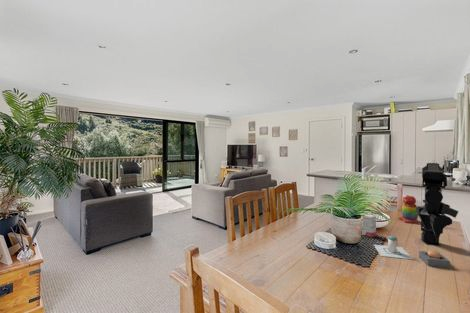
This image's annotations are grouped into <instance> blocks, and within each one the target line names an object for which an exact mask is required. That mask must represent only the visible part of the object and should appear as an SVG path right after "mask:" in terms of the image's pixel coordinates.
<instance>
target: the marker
mask: <svg viewBox="0 0 470 313" xmlns="http://www.w3.org/2000/svg"><path fill="white" fill-rule="evenodd" d="M387 246H388V251H389V252H392V253H396V252H397V247H398V238H397V237H396V236H393V235H389V236H388V239H387Z"/></svg>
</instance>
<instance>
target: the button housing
mask: <svg viewBox="0 0 470 313" xmlns="http://www.w3.org/2000/svg"><path fill="white" fill-rule="evenodd" d="M418 258H419V259H420V260H421V261H422V262H423V263H424V264H426V265H427V266H428V267H429V266H430V267H436V268H437V267H438V268H446V269H447V268H448V269H450V268H451V267H450V266H451V261H450V259H448V258H447V257H446V256H444V255H443V254H441V253H440V259H438V258H430V257H429V256H428V255H427V251H423V250H418Z"/></svg>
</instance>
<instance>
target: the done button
mask: <svg viewBox="0 0 470 313" xmlns="http://www.w3.org/2000/svg"><path fill="white" fill-rule="evenodd" d="M426 252H427V255H428V256H429V257H430V258H438V259H440V254H441V252H439V251H436V250H432V249H428V250H427V251H426Z"/></svg>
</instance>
